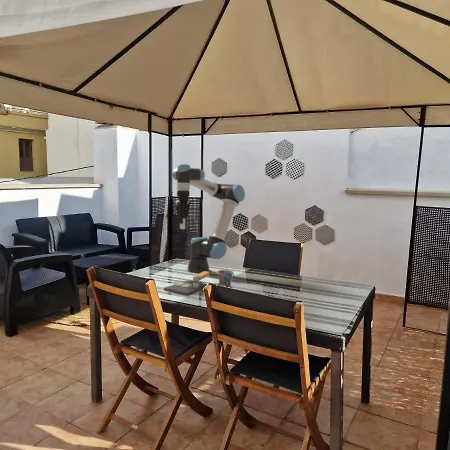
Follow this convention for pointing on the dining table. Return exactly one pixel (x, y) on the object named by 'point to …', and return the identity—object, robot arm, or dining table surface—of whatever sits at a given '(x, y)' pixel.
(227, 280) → the mug
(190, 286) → the server panel
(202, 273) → the cable arm
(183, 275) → the dining table surface
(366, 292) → the dining table surface
